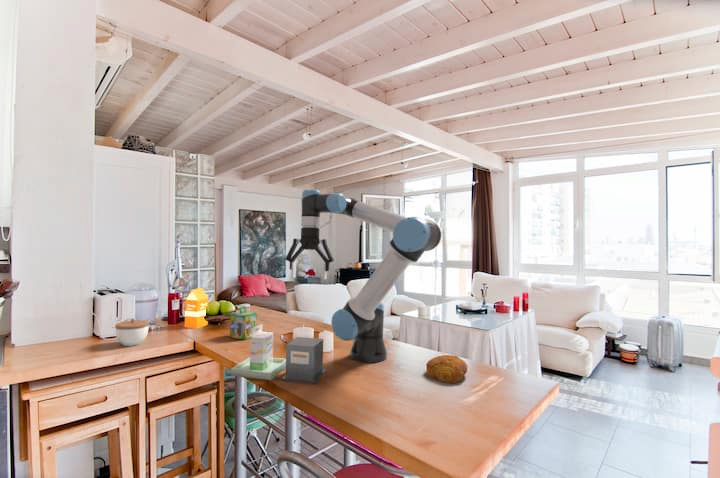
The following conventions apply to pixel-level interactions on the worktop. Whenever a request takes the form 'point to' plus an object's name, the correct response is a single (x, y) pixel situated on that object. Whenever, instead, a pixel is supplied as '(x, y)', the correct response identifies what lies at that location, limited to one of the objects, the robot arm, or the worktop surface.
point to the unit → (304, 360)
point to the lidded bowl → (132, 332)
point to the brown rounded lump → (446, 368)
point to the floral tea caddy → (242, 324)
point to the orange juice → (196, 309)
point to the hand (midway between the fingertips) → (308, 278)
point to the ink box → (261, 349)
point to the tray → (266, 374)
